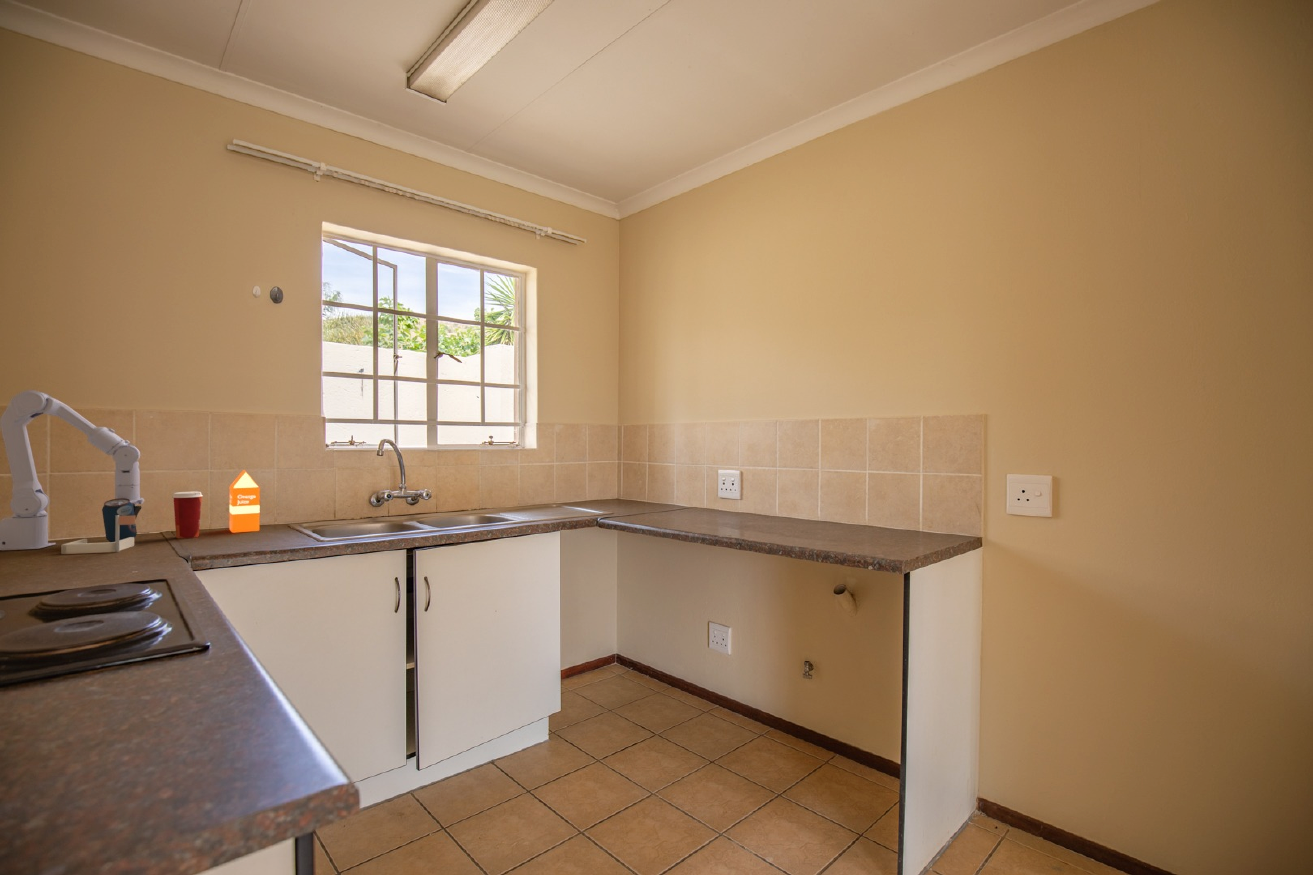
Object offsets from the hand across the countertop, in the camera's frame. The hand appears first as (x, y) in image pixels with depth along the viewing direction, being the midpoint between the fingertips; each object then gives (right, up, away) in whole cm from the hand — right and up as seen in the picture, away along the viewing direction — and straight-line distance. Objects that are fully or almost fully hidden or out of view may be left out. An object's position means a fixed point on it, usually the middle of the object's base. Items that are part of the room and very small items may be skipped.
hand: (127, 530), depth 188 cm
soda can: (+1, -2, -3) cm, 4 cm away
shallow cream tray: (+7, -3, -14) cm, 16 cm away
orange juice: (+20, -3, +23) cm, 30 cm away
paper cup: (+12, -3, +8) cm, 15 cm away
